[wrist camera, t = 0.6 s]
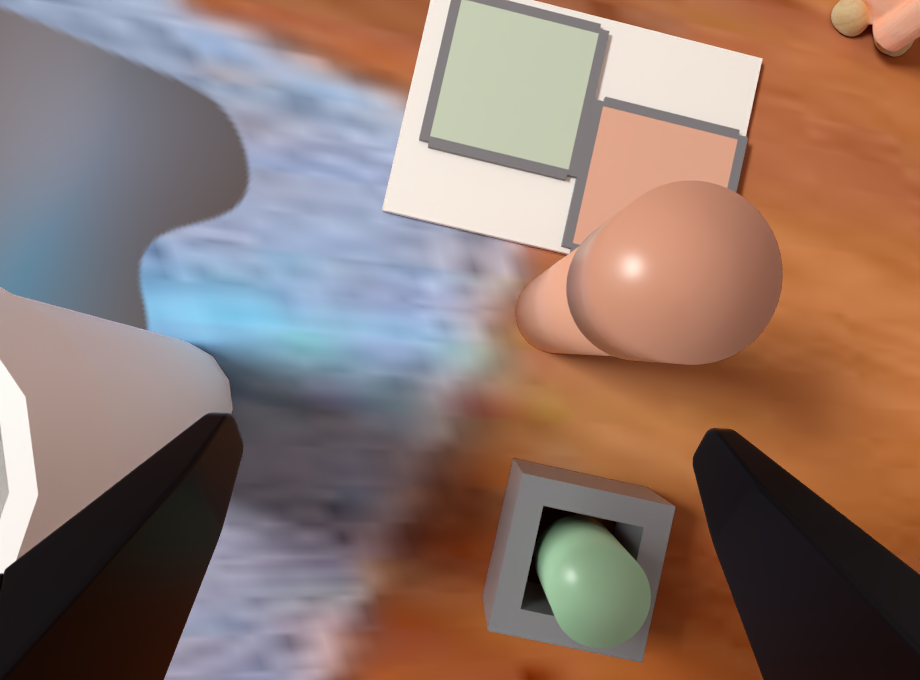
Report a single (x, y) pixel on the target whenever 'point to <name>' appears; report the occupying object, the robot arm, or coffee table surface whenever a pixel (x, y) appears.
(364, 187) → the coffee table surface
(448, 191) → the sheet
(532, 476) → the button housing
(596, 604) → the button
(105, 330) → the foam cup
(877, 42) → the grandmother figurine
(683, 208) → the peach round-top post
